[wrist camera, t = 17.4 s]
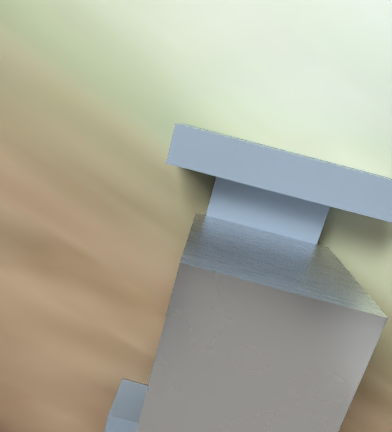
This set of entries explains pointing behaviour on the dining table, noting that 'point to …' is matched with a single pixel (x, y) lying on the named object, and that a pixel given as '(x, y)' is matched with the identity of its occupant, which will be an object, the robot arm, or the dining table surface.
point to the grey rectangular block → (259, 336)
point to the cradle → (262, 205)
